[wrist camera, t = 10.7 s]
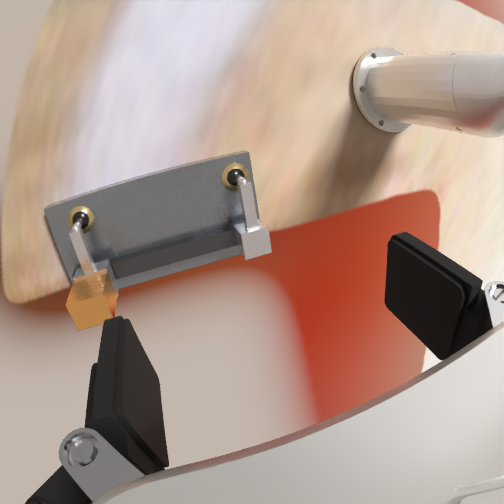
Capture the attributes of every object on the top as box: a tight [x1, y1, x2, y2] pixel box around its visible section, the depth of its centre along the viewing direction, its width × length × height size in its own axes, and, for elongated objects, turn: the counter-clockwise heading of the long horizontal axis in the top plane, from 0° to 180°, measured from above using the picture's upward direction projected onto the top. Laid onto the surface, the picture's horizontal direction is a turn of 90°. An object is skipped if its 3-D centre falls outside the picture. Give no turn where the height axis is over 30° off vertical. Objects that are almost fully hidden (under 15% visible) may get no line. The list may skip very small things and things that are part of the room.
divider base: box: [44, 151, 272, 289], centre depth 34 cm, size 24×12×6 cm, turn 100°
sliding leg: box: [66, 218, 119, 330], centre depth 29 cm, size 4×9×8 cm, turn 10°
